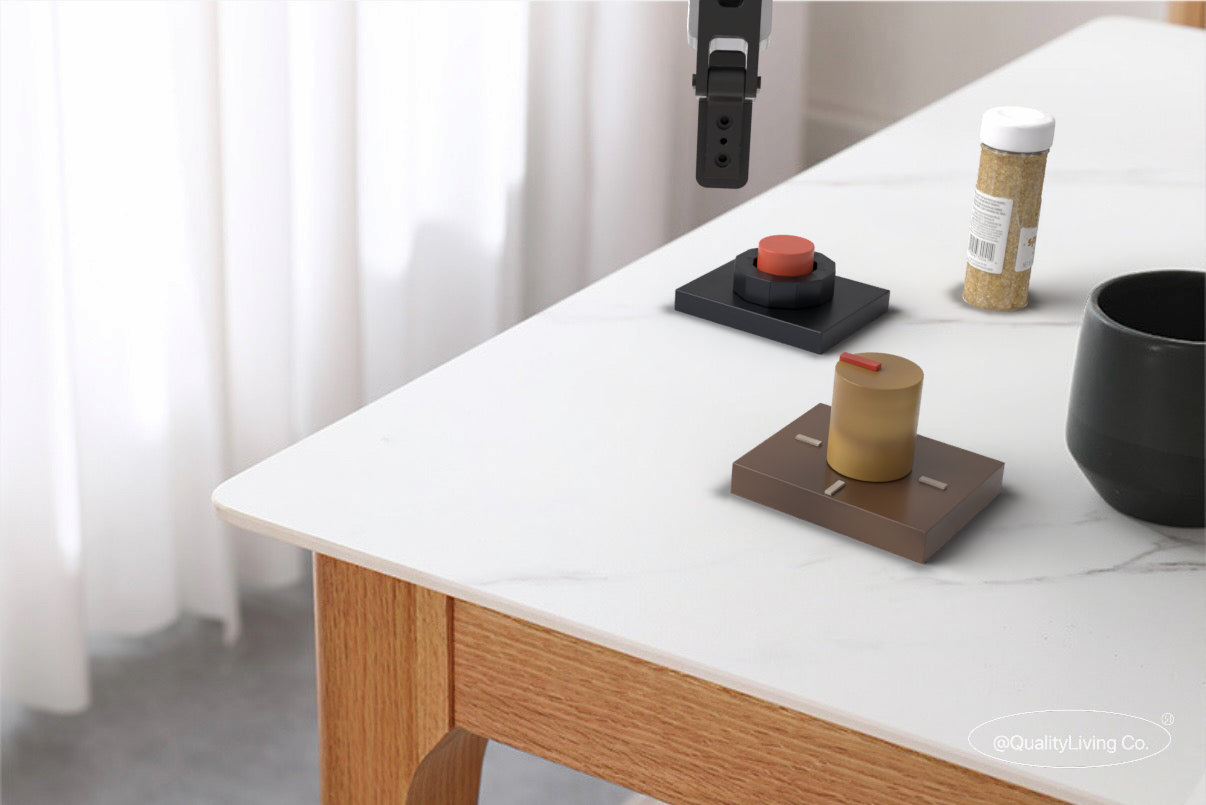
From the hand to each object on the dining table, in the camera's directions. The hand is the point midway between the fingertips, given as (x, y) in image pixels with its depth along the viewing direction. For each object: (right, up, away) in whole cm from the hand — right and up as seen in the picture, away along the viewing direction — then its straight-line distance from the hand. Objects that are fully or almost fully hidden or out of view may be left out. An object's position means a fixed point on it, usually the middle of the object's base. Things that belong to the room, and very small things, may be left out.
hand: (723, 155), depth 70 cm
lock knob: (+8, -14, +11) cm, 20 cm away
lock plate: (+8, -16, +12) cm, 22 cm away
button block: (+6, -6, +33) cm, 34 cm away
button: (+6, -2, +32) cm, 32 cm away
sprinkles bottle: (+21, -5, +36) cm, 42 cm away
